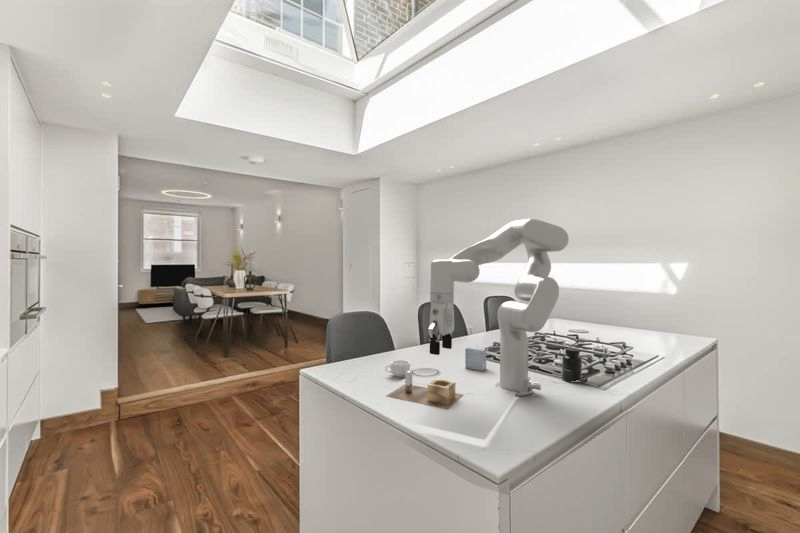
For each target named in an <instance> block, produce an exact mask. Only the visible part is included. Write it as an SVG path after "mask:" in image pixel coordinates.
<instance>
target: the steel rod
mask: <svg viewBox="0 0 800 533" xmlns="http://www.w3.org/2000/svg"><path fill="white" fill-rule="evenodd" d="M404 379H405V381H404V385H405V393H412V385H413V372H412V371H407V372H406V373H405V377H404Z"/></svg>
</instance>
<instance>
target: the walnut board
mask: <svg viewBox="0 0 800 533" xmlns="http://www.w3.org/2000/svg"><path fill="white" fill-rule="evenodd" d="M463 396H464V394H462V393H458V392H455V398H454V399H453V400H452V401H451V402H450V403H448V404H444V403H439V402H434V401H429V400H428V387H425V386H419V385H416V384H415V385H414V384H412V393H405V384H403V385H401V386H400V387H398V388H397V389H395V390H393V391H392V392H390V393H388V394H386V395H385V397H386V398H387V397H388V398H391V399H397V400H401V401H406V402H411V403H415V404H419V405H423V406H424V405H425V406H430V407H435V408H438V409H444V410H450V408H451V407H452V406H454V405H455V404H456V403H457V402H458V401H459V400H460V399H461V398H462V397H463Z"/></svg>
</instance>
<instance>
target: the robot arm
mask: <svg viewBox="0 0 800 533" xmlns="http://www.w3.org/2000/svg"><path fill="white" fill-rule="evenodd" d="M569 240H570V239H569V235H568V232H567V231H566V229H564V228H563V227H562V226H559V225H556V224H553V223H549V222H547V221H544V220H540V219H535V218H525V219H518V220H513V221H510V222H508V223H507V224H505V225H504V226H502V227H501V228H500V229H498V230H497V231H495V232H494V233H492V234H491V235H489V236H488V237H487V238H484V239H483V240H481V241H478V242H476V243H474V244H473V245H471V246H469V247H466V248H464V249H462V250H461V251H458V253H456V254H455V255H453V256H451V257H450V258H449V259H434V260H432V261H431V262H430V281H429V282H430V285H429V286H430V288H429V289H430V291H429V292H430V293H429V297H430V298H429V299H430V300H429V302H430V313H429V327H428V329H427V332H428V338H429V339H428V340H429V341H428V342H429V354H430V355H435V356H440V354H441V347H442V349H446V350H447V349H449V350H451V349H452V347H453V346H452V342H453V332H454V331H455V308H454V302H455V301H454V298H455V297H454V296H455V292H454V291H455V282H456V283H457V282H458V283H466V284H467V283H472V282H475V281H476V280H477V279H478V278H479V275H480V267H479V266H482V265H484V264H490V263H493V262H496V261H499V260H501V259H503V258H504V257H505V256H507V255H508V254H509V253H510V252H513V250H515V249H517V247H519V246H522V245H524V248H525V250H526V253H527V254H526V255H527V263H526V265H525V267H524V269H523V271H522V272H521V275H520V277H519V279H518V280H517V282H516V284H515V286H514V291H513V292H514V296H515V297H516V298H517V299H518V300H520V301H518V300H508V301H504V302H502V303H501V304H500V305H499V307H498V310H497V323H498V326H499V327H498V328H499V340H500V342H499V343H500V344H499V347H500V348H499V355H500V356H499V381H498V382H497V383H496V384H495V388H502V389H504V390H507V391H516V393H515V395H514V396H517V397H524V396H528V395H531V394H533V390H536V391H537V390H538V391H541V389H542V384H540V383H539V382H538V381H537V382H535V381H532V380H531V377H529V338H528V334H527V332H528V333H538V332H539V331H541V330H542V329H543V328H544V327H545V325H546V323H547V321H548V319H549V318H550V316H551V313H552V312H553V309H554V308H555V305H556V304H557V302H558V299H559V295H560V286H559V283H558V282H557V281H556V279H554V278H552V277H550V276H549V275H550V273H551V270H552V263H551V259H550V257H549V254H548V253H549V252H551V253H552V252H561V251H562V250H564V249H566V247H567V246H568V244H569ZM441 335H442V339H441V341H442V343H441V342H440V338H441Z"/></svg>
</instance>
